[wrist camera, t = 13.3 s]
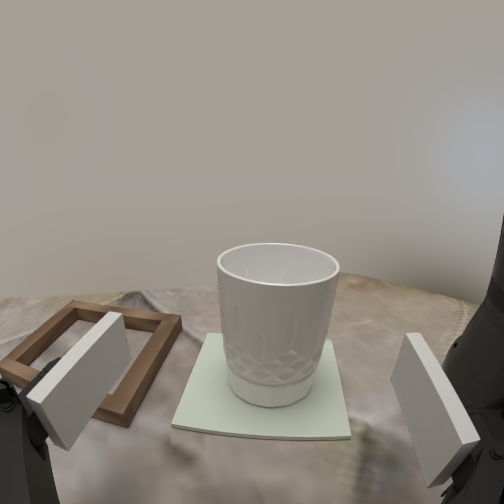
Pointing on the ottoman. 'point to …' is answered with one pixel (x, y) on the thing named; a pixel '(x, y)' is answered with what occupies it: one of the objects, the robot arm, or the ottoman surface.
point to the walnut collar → (137, 378)
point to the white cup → (274, 318)
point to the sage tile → (259, 417)
